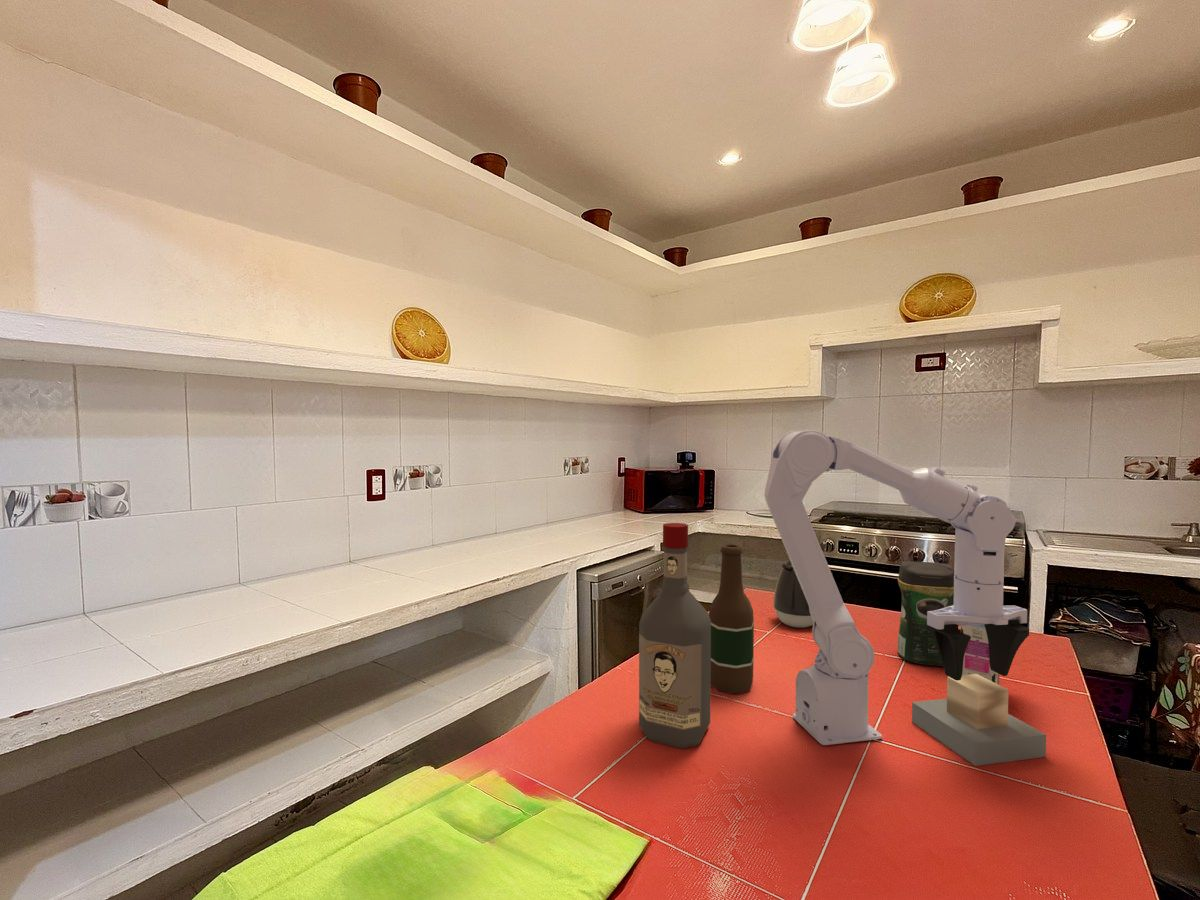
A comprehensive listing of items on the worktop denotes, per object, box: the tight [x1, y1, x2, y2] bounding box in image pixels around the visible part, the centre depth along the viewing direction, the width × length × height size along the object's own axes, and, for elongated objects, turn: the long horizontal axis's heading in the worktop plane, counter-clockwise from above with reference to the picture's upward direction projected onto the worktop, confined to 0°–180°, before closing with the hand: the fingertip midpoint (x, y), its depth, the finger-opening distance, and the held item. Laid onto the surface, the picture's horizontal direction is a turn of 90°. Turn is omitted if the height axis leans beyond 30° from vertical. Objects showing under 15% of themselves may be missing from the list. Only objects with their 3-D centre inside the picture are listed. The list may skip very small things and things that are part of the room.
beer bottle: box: [708, 543, 755, 695], centre depth 93 cm, size 8×8×24 cm
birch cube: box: [946, 674, 1009, 729], centre depth 77 cm, size 5×5×5 cm
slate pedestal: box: [911, 698, 1047, 767], centre depth 77 cm, size 11×11×3 cm
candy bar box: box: [960, 624, 1000, 685], centre depth 89 cm, size 11×5×16 cm, turn 141°
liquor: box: [638, 522, 712, 749], centre depth 79 cm, size 9×9×30 cm
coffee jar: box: [897, 560, 954, 667], centre depth 104 cm, size 10×8×19 cm
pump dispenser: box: [772, 559, 813, 629], centre depth 123 cm, size 10×10×15 cm
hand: (976, 675), depth 77 cm, fingers open, 7 cm apart
